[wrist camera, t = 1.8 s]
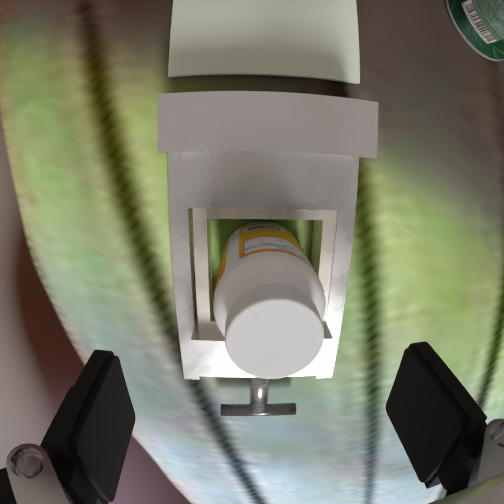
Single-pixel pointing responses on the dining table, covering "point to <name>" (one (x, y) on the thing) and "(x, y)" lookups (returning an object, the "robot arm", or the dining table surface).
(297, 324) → the supplement bottle
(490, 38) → the canned tomato
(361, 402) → the dining table surface
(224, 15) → the pad
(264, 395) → the vise
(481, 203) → the dining table surface
